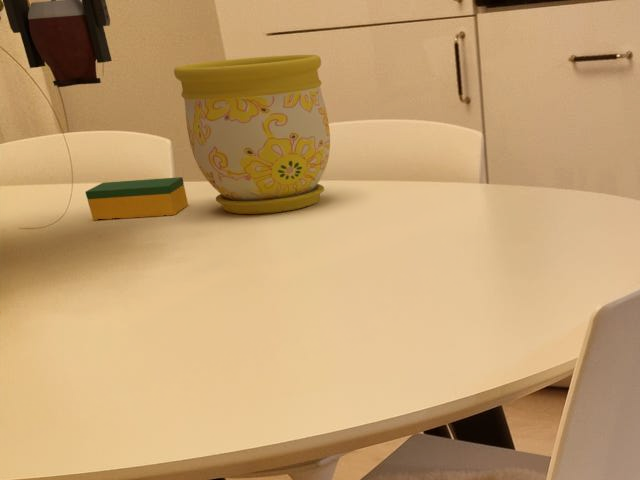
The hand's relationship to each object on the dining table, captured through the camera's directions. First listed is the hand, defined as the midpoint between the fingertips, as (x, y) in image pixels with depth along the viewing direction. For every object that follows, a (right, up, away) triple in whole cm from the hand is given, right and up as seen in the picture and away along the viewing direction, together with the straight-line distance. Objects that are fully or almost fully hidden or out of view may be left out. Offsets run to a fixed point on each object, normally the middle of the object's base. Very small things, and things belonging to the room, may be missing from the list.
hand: (71, 64), depth 108 cm
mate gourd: (0, -2, +1) cm, 2 cm away
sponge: (+1, -8, +20) cm, 21 cm away
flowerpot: (+19, -8, +18) cm, 27 cm away
